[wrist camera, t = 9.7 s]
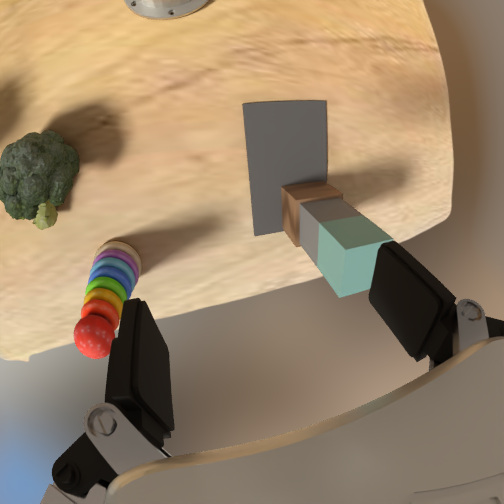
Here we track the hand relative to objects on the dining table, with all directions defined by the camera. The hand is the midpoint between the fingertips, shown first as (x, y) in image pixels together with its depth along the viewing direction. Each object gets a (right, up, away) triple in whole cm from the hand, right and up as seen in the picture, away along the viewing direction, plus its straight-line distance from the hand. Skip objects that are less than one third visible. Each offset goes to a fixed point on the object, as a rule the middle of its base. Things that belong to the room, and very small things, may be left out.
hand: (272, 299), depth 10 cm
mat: (+5, +14, +29) cm, 32 cm away
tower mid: (+8, +6, +27) cm, 29 cm away
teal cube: (+10, +3, +22) cm, 24 cm away
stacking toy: (-22, 0, +30) cm, 37 cm away
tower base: (+7, +9, +32) cm, 34 cm away
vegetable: (-29, +13, +20) cm, 38 cm away
